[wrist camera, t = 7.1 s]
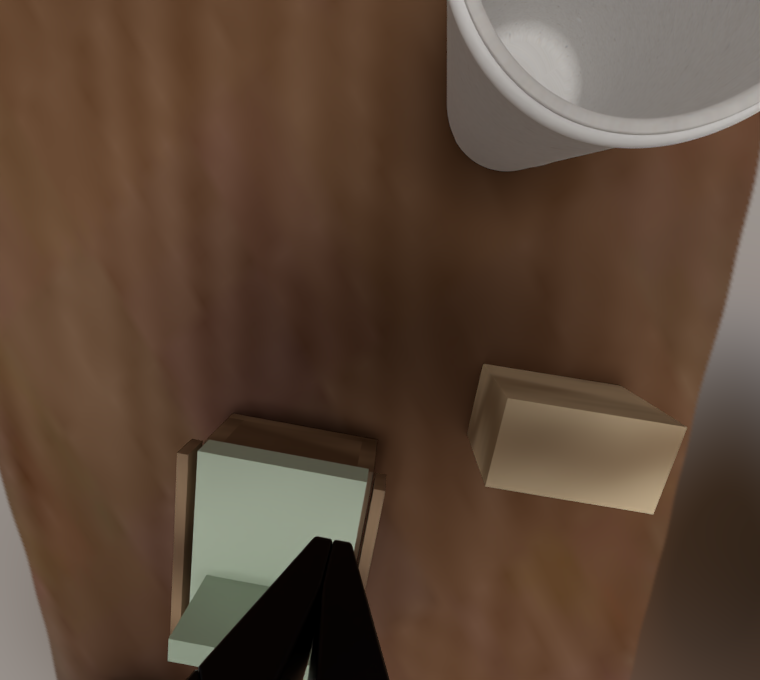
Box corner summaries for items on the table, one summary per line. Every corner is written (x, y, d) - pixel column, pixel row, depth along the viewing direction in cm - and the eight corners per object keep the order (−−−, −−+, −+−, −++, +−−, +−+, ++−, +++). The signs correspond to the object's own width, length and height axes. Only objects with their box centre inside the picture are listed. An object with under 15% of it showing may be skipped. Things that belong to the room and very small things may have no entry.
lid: (331, 666, 20) (315, 767, 16) (196, 641, 20) (148, 734, 16) (368, 468, 17) (359, 534, 13) (208, 439, 17) (153, 495, 13)
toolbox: (354, 612, 23) (344, 690, 19) (210, 585, 23) (169, 657, 19) (388, 441, 20) (385, 491, 16) (222, 411, 20) (177, 452, 16)
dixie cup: (647, 130, 16) (1034, -53, 6) (474, 239, 17) (568, 229, 8) (559, -69, 14) (886, -717, 5) (378, 68, 16) (343, -212, 6)
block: (596, 454, 20) (653, 514, 15) (466, 432, 20) (485, 486, 15) (619, 384, 19) (687, 427, 14) (482, 362, 19) (507, 398, 14)
